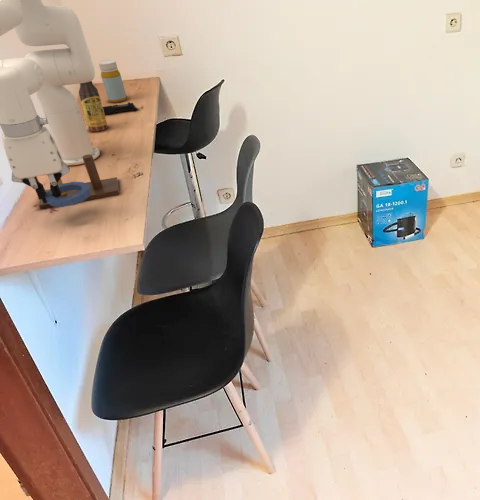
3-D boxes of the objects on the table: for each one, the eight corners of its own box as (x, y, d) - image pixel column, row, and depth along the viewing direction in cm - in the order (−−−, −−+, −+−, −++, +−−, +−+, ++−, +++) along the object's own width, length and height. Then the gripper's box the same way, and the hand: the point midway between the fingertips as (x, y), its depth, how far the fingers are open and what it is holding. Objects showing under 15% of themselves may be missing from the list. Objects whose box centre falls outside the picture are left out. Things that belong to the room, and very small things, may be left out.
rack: (43, 194, 138) (29, 159, 132) (118, 180, 143) (107, 146, 138) (40, 209, 131) (25, 173, 125) (119, 194, 137) (107, 159, 131)
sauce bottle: (92, 134, 174) (73, 74, 163) (86, 129, 178) (67, 71, 167) (111, 129, 178) (94, 70, 167) (105, 124, 182) (88, 67, 171)
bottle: (114, 97, 208) (103, 59, 200) (130, 97, 207) (120, 59, 199) (105, 103, 203) (93, 64, 194) (121, 103, 202) (110, 64, 193)
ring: (48, 192, 126) (46, 186, 125) (90, 184, 129) (88, 178, 128) (46, 210, 119) (43, 204, 118) (90, 201, 121) (88, 195, 121)
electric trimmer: (93, 115, 192) (90, 106, 190) (136, 108, 196) (134, 100, 194) (93, 118, 189) (90, 109, 187) (137, 111, 193) (134, 102, 192)
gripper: (62, 115, 117) (87, 186, 128) (-17, 126, 112) (16, 199, 123) (60, 126, 111) (87, 200, 122) (-23, 139, 107) (13, 214, 117)
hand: (51, 199), depth 122 cm, fingers closed on ring, 2 cm apart
